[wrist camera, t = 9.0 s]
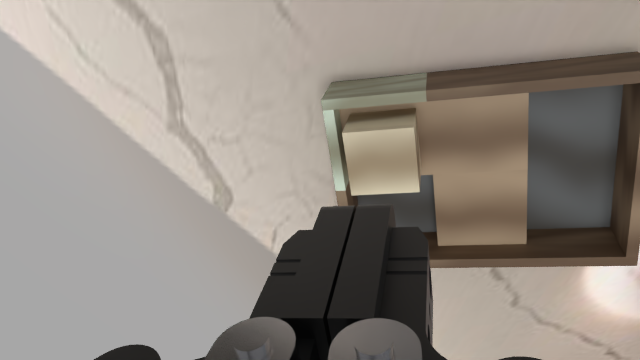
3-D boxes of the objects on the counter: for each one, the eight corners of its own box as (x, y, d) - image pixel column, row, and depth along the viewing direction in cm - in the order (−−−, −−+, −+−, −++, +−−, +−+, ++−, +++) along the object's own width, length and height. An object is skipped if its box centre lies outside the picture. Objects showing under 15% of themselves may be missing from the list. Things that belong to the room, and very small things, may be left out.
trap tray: (331, 82, 42) (321, 100, 38) (637, 51, 37) (661, 68, 33) (355, 239, 49) (348, 268, 45) (618, 233, 43) (637, 265, 39)
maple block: (350, 113, 40) (342, 133, 37) (415, 107, 39) (414, 127, 36) (358, 171, 43) (351, 195, 39) (421, 168, 41) (419, 192, 38)
